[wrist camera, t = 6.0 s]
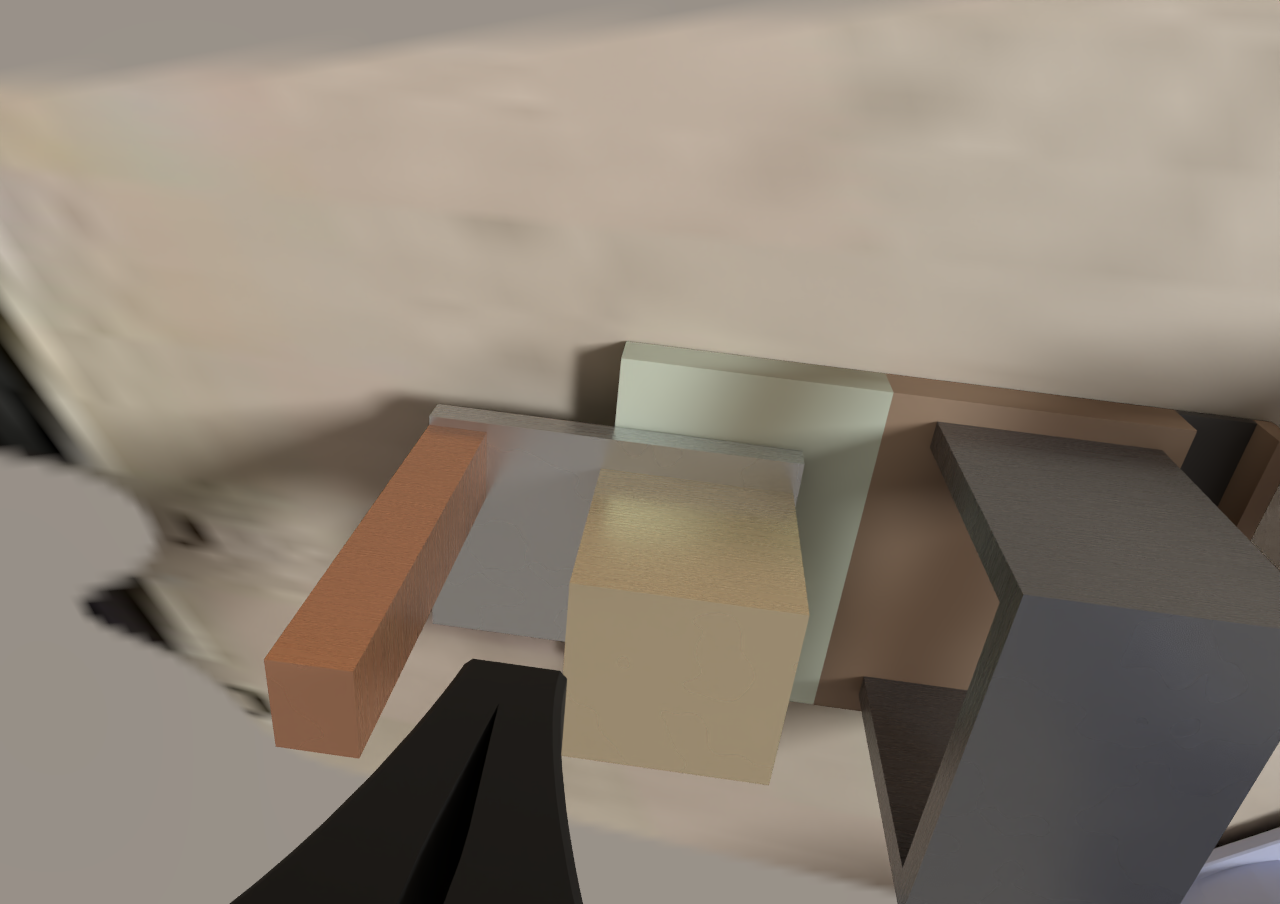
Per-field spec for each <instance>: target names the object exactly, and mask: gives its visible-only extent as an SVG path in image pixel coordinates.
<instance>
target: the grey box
mask: <svg viewBox="0 0 1280 904" xmlns="http://www.w3.org/2000/svg"><path fill="white" fill-rule="evenodd" d="M930 449H931V451H932V454H933V456H934V458H935V460H936V463H937V465H938V467H939V469H940V471H941V474H942V476H943V478H944V480H945V482H946V485H947V487H948V489H949V491H950V493H951V496H952V498H953V500H954V502H955V505H956V507H957V509H958V511H959V513H960V516H961V518H962V520H963V522H964V524H965V527H966V529H967V531H968V533H969V535H970V538H971V540H972V542H973V544H974V547H975V549H976V551H977V553H978V555H979V558H980V560H981V562H982V564H983V566H984V569H985V571H986V573H987V575H988V578H989V580H990V582H991V584H992V586H993V589H994V591H995V593H996V595H997V597H998V600H999V602H1000V603H999V606H998V608H997V611H996V614H995V617H994V619H993V622H992V625H991V628H990V630H989V633H988V636H987V639H986V641H985V644H984V647H983V650H982V652H981V655H980V658H979V660H978V663H977V666H976V669H975V671H974V674H973V677H972V680H971V682H970V685H969V688H968V690H962V689H954V688H947V687H940V686H932V685H925V684H918V683H911V682H903V681H896V680H889V679H881V678H874V677H867V676H864V677H863V681H862V684H861V688H860V691H859V694H858V695H859V701H860V706H861V711H862V717H863V722H864V727H865V733H866V738H867V743H868V749H869V754H870V759H871V765H872V770H873V775H874V780H875V786H876V791H877V796H878V802H879V807H880V812H881V818H882V823H883V828H884V834H885V839H886V844H887V850H888V855H889V860H890V866H891V871H892V876H893V881H894V887H895V892H896V897H897V902H898V904H1180V903H1181V902H1182V900H1183V899H1184V897H1185V895H1186V894H1187V892H1188V890H1189V889H1190V887H1191V885H1192V884H1193V882H1194V881H1195V879H1196V877H1197V876H1198V874H1199V872H1200V871H1201V869H1202V867H1203V866H1204V864H1205V863H1206V861H1207V859H1208V858H1209V856H1210V854H1211V853H1212V851H1213V849H1214V848H1215V846H1216V845H1217V843H1218V841H1219V840H1220V838H1221V836H1222V835H1223V833H1224V831H1225V830H1226V828H1227V827H1228V825H1229V823H1230V822H1231V820H1232V818H1233V817H1234V815H1235V813H1236V812H1237V810H1238V809H1239V807H1240V805H1241V804H1242V802H1243V800H1244V799H1245V797H1246V796H1247V794H1248V792H1249V791H1250V789H1251V787H1252V786H1253V784H1254V782H1255V781H1256V779H1257V778H1258V776H1259V774H1260V773H1261V771H1262V769H1263V768H1264V766H1265V764H1266V763H1267V761H1268V760H1269V758H1270V756H1271V755H1272V753H1273V751H1274V750H1275V748H1276V746H1277V745H1278V743H1279V742H1280V571H1279V570H1278V569H1277V568H1276V567H1275V566H1274V565H1273V564H1272V563H1271V562H1270V561H1269V560H1268V559H1267V558H1266V557H1265V556H1264V555H1263V554H1262V553H1261V552H1260V551H1259V550H1258V548H1257V547H1256V546H1255V545H1254V544H1253V543H1252V542H1251V541H1250V540H1249V539H1248V538H1247V537H1246V536H1245V535H1244V534H1243V533H1242V532H1241V531H1240V530H1239V529H1238V528H1237V527H1236V526H1235V525H1234V524H1233V523H1232V522H1231V521H1230V520H1229V519H1228V517H1227V516H1226V515H1225V514H1224V513H1223V512H1222V511H1221V510H1220V509H1219V508H1218V507H1217V506H1216V505H1215V504H1214V503H1213V502H1212V501H1211V500H1210V499H1209V498H1208V497H1207V496H1206V495H1205V494H1204V493H1203V492H1202V491H1201V490H1200V489H1199V488H1198V486H1197V485H1196V484H1195V483H1194V482H1193V481H1192V480H1191V479H1190V478H1189V477H1188V476H1187V475H1186V474H1185V473H1184V472H1183V471H1182V470H1181V469H1180V468H1179V467H1178V466H1177V465H1176V464H1175V463H1174V462H1173V461H1172V460H1171V459H1170V458H1169V457H1168V455H1167V454H1166V453H1165V452H1164V451H1163V450H1159V449H1151V448H1143V447H1136V446H1128V445H1120V444H1112V443H1104V442H1096V441H1088V440H1080V439H1072V438H1065V437H1057V436H1049V435H1041V434H1033V433H1025V432H1017V431H1009V430H1002V429H994V428H986V427H978V426H970V425H962V424H954V423H946V422H939V421H937V424H936V427H935V431H934V434H933V438H932V441H931V445H930Z"/></svg>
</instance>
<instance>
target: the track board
mask: <svg viewBox="0 0 1280 904" xmlns="http://www.w3.org/2000/svg"><path fill="white" fill-rule="evenodd" d="M937 421H939V422H946V423H954V424H962V425H970V426H978V427H986V428H994V429H1002V430H1009V431H1017V432H1025V433H1033V434H1041V435H1049V436H1057V437H1065V438H1072V439H1080V440H1088V441H1096V442H1104V443H1112V444H1120V445H1128V446H1136V447H1143V448H1151V449H1159V450H1163V451H1164V452H1165V453H1166V454H1167V455H1168V457H1169V458H1170V459H1171V460H1172V461H1173V462H1174V463H1175V464H1176V465H1177V466H1178V467H1179V468H1180V469H1181V470H1182V471H1183V472H1184V473H1185V474H1186V475H1187V476H1188V477H1189V478H1190V479H1191V480H1192V481H1193V482H1194V483H1195V484H1196V485H1197V486H1198V488H1199V489H1200V490H1201V491H1202V492H1203V493H1204V494H1205V495H1206V496H1207V497H1208V498H1209V499H1210V500H1211V501H1212V502H1213V503H1214V504H1215V505H1216V506H1217V507H1218V508H1219V509H1220V510H1221V511H1222V512H1223V513H1224V514H1225V515H1226V516H1227V517H1228V519H1229V520H1230V521H1231V522H1232V523H1233V524H1234V525H1235V526H1236V527H1237V528H1238V529H1239V530H1240V531H1241V532H1242V533H1243V534H1244V535H1245V536H1246V537H1247V538H1248V539H1249V540H1251V538H1252V536H1253V534H1254V533H1255V531H1256V529H1257V527H1258V525H1259V523H1260V521H1261V519H1262V517H1263V515H1264V513H1265V511H1266V509H1267V507H1268V505H1269V503H1270V501H1271V499H1272V497H1273V496H1274V494H1275V492H1276V490H1277V488H1278V486H1279V484H1280V428H1279V427H1278V426H1276V425H1275V424H1274V423H1272V422H1267V421H1259V420H1252V419H1244V418H1236V417H1228V416H1220V415H1212V414H1204V413H1196V412H1188V411H1180V410H1172V409H1164V408H1156V407H1148V406H1140V405H1132V404H1124V403H1116V402H1108V401H1100V400H1092V399H1084V398H1076V397H1068V396H1060V395H1052V394H1044V393H1036V392H1028V391H1020V390H1012V389H1004V388H996V387H988V386H980V385H972V384H964V383H956V382H948V381H940V380H932V379H924V378H916V377H908V376H900V375H892V374H884V373H876V372H868V371H860V370H853V369H845V368H837V367H829V366H821V365H813V364H805V363H797V362H789V361H781V360H773V359H765V358H757V357H749V356H741V355H733V354H725V353H717V352H709V351H701V350H693V349H685V348H677V347H669V346H661V345H653V344H645V343H637V342H629V341H626V344H625V348H624V351H623V354H622V358H621V367H620V378H619V388H618V399H617V409H616V420H615V427H621V428H629V429H637V430H644V431H652V432H660V433H668V434H676V435H683V436H691V437H699V438H707V439H714V440H722V441H730V442H738V443H745V444H753V445H761V446H769V447H777V448H784V449H792V450H800V451H802V452H803V458H804V464H805V465H804V470H803V474H802V479H801V484H800V488H799V493H798V498H797V502H796V507H795V509H796V517H797V524H798V532H799V539H800V547H801V554H802V562H803V569H804V577H805V584H806V592H807V600H808V607H809V615H810V616H809V620H808V624H807V628H806V633H805V637H804V641H803V645H802V649H801V653H800V658H799V662H798V666H797V670H796V674H795V679H794V683H793V687H792V691H791V695H790V699H789V701H792V702H799V703H806V704H813V705H820V706H828V707H835V708H842V709H849V710H856V711H861V706H860V701H859V695H858V694H859V691H860V688H861V684H862V681H863V677H864V676H867V677H874V678H881V679H889V680H896V681H903V682H911V683H918V684H925V685H932V686H940V687H947V688H954V689H962V690H968V688H969V685H970V682H971V680H972V677H973V674H974V671H975V669H976V666H977V663H978V660H979V658H980V655H981V652H982V650H983V647H984V644H985V641H986V639H987V636H988V633H989V630H990V628H991V625H992V622H993V619H994V617H995V614H996V611H997V608H998V606H999V603H1000V602H999V600H998V597H997V595H996V593H995V591H994V589H993V586H992V584H991V582H990V580H989V578H988V575H987V573H986V571H985V569H984V566H983V564H982V562H981V560H980V558H979V555H978V553H977V551H976V549H975V547H974V544H973V542H972V540H971V538H970V535H969V533H968V531H967V529H966V527H965V524H964V522H963V520H962V518H961V516H960V513H959V511H958V509H957V507H956V505H955V502H954V500H953V498H952V496H951V493H950V491H949V489H948V487H947V485H946V482H945V480H944V478H943V476H942V474H941V471H940V469H939V467H938V465H937V463H936V460H935V458H934V456H933V454H932V451H931V449H930V445H931V441H932V438H933V434H934V431H935V427H936V424H937Z"/></svg>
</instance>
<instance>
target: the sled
mask: <svg viewBox="0 0 1280 904" xmlns="http://www.w3.org/2000/svg"><path fill="white" fill-rule="evenodd" d="M804 465H805V464H804V458H803V452H802V451H800V450H792V449H784V448H777V447H769V446H761V445H753V444H745V443H738V442H730V441H722V440H714V439H707V438H699V437H691V436H683V435H676V434H668V433H660V432H652V431H644V430H637V429H629V428H621V427H613V426H606V425H598V424H590V423H582V422H575V421H567V420H559V419H551V418H543V417H536V416H528V415H520V414H512V413H505V412H497V411H489V410H481V409H474V408H466V407H458V406H450V405H442V404H437V406H436V407H435V409H434V410H433V411H432V413H431V414H430V416H429V426H428V427H427V429H426V430H425V432H424V433H423V434H422V436H421V437H420V439H419V440H418V442H417V443H416V444H415V446H414V447H413V449H412V450H411V452H410V453H409V454H408V456H407V457H406V459H405V460H404V461H403V463H402V464H401V466H400V467H399V469H398V470H397V471H396V473H395V474H394V476H393V477H392V478H391V480H390V481H389V483H388V484H387V486H386V487H385V488H384V490H383V491H382V493H381V494H380V495H379V497H378V498H377V500H376V501H375V503H374V504H373V505H372V507H371V508H370V510H369V511H368V513H367V514H366V515H365V517H364V518H363V520H362V521H361V522H360V524H359V525H358V527H357V528H356V530H355V531H354V532H353V534H352V535H351V537H350V538H349V539H348V541H347V542H346V544H345V545H344V547H343V548H342V549H341V551H340V552H339V554H338V555H337V557H336V558H335V559H334V561H333V562H332V564H331V565H330V566H329V568H328V569H327V571H326V572H325V574H324V575H323V576H322V578H321V579H320V581H319V582H318V583H317V585H316V586H315V588H314V589H313V591H312V592H311V593H310V595H309V596H308V598H307V599H306V600H305V602H304V603H303V605H302V606H301V608H300V609H299V610H298V612H297V613H296V615H295V616H294V618H293V619H292V620H291V622H290V623H289V625H288V626H287V627H286V629H285V630H284V632H283V633H282V635H281V636H280V637H279V639H278V640H277V642H276V643H275V644H274V646H273V647H272V649H271V650H270V652H269V653H268V654H267V656H266V657H265V659H264V663H265V671H266V678H267V685H268V693H269V700H270V707H271V715H272V722H273V729H274V737H275V744H276V747H283V748H290V749H297V750H304V751H311V752H318V753H325V754H332V755H339V756H346V757H353V758H360V756H361V754H362V752H363V750H364V748H365V746H366V744H367V742H368V739H369V737H370V735H371V733H372V731H373V729H374V727H375V725H376V723H377V721H378V719H379V717H380V715H381V713H382V711H383V709H384V707H385V705H386V702H387V700H388V698H389V696H390V694H391V692H392V690H393V688H394V686H395V684H396V682H397V680H398V678H399V676H400V674H401V672H402V670H403V668H404V666H405V663H406V661H407V659H408V657H409V655H410V653H411V651H412V649H413V647H414V645H415V643H416V641H417V639H418V637H419V635H420V633H421V631H422V629H423V626H424V624H425V622H426V620H427V618H428V616H429V614H430V612H431V610H432V608H433V624H440V625H447V626H454V627H462V628H469V629H476V630H484V631H491V632H498V633H505V634H513V635H520V636H527V637H535V638H542V639H549V640H556V641H564V642H565V651H564V664H563V675H564V676H565V677H566V678H567V689H566V702H565V715H564V728H563V740H562V753H561V756H566V757H573V758H580V759H587V760H594V761H601V762H608V763H615V764H622V765H630V766H637V767H644V768H651V769H658V770H665V771H672V772H679V773H686V774H693V775H700V776H707V777H714V778H721V779H728V780H735V781H742V782H749V783H756V784H763V785H769V783H770V779H771V775H772V770H773V766H774V762H775V758H776V754H777V750H778V745H779V741H780V737H781V733H782V729H783V724H784V720H785V716H786V712H787V708H788V704H789V699H790V695H791V691H792V687H793V683H794V679H795V674H796V670H797V666H798V662H799V658H800V653H801V649H802V645H803V641H804V637H805V633H806V628H807V624H808V620H809V616H810V615H809V607H808V600H807V592H806V584H805V577H804V569H803V562H802V554H801V547H800V539H799V532H798V524H797V517H796V509H795V507H796V502H797V498H798V493H799V488H800V484H801V479H802V474H803V470H804Z"/></svg>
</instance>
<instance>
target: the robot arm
mask: <svg viewBox="0 0 1280 904" xmlns="http://www.w3.org/2000/svg"><path fill="white" fill-rule="evenodd" d="M566 689H567V678H566V677H565V676H564V675H563V674H562V673H561V672H560V671H556V670H549V669H542V668H535V667H528V666H521V665H513V664H506V663H499V662H492V661H485V660H478V659H472V660H470V661H469V662H467V663H466V664H464V666H463V667H462V668H461V670H460V671H459V673H458V674H457V675H456V677H455V678H454V679H453V681H452V682H451V683H450V685H449V686H448V687H447V689H446V690H445V691H444V692H443V694H442V695H441V696H440V697H439V699H438V700H437V701H436V702H435V704H434V705H433V706H432V707H431V709H430V710H429V711H428V712H427V713H426V714H425V716H424V717H423V718H422V719H421V720H420V722H419V723H418V724H417V725H416V726H415V728H414V729H413V730H412V731H411V732H410V733H409V734H408V735H407V737H406V738H405V739H404V740H403V741H402V742H401V743H400V744H399V745H398V747H397V748H396V749H395V750H394V751H393V752H392V753H391V754H390V755H389V757H388V758H387V759H386V760H385V761H384V762H383V763H382V764H381V765H380V767H379V768H378V769H377V770H376V771H375V772H374V773H373V774H372V775H371V776H370V777H369V778H368V779H367V780H366V781H365V782H364V784H362V785H361V786H360V787H359V788H358V789H357V790H356V791H355V792H354V793H353V794H352V795H351V796H350V797H349V798H348V799H347V800H346V801H345V802H344V803H343V804H342V805H341V806H340V807H339V808H338V809H337V810H336V811H335V812H334V813H333V814H332V815H331V816H330V817H329V818H328V819H327V820H326V821H325V822H324V823H323V824H322V825H321V826H320V827H319V828H318V829H316V830H315V831H314V832H313V833H312V834H311V835H310V836H309V837H308V838H307V839H306V840H305V841H303V843H301V844H300V845H299V846H298V847H297V848H296V849H295V850H293V852H291V853H290V854H289V855H288V856H287V857H286V858H284V859H283V860H282V861H281V862H280V863H278V864H277V865H276V866H275V867H274V868H273V869H271V870H270V871H269V872H268V873H267V874H266V875H264V876H263V877H262V878H261V879H260V880H259V881H257V882H256V883H255V884H254V885H252V886H251V887H250V888H249V889H247V890H246V891H245V892H244V893H243V894H241V895H240V896H239V897H237V898H236V899H235V900H234V901H232V902H231V903H230V904H583V902H582V897H581V893H580V888H579V883H578V878H577V873H576V868H575V862H574V857H573V851H572V845H571V840H570V833H569V826H568V819H567V812H566V803H565V793H564V783H563V773H562V759H561V753H562V740H563V728H564V715H565V702H566ZM1180 904H1280V827H1278V828H1275V829H1272V830H1269V831H1266V832H1263V833H1260V834H1257V835H1254V836H1251V837H1248V838H1245V839H1242V840H1239V841H1236V842H1233V843H1230V844H1227V845H1224V846H1221V847H1217V848H1214V849H1213V851H1212V853H1211V854H1210V856H1209V858H1208V859H1207V861H1206V863H1205V864H1204V866H1203V867H1202V869H1201V871H1200V872H1199V874H1198V876H1197V877H1196V879H1195V881H1194V882H1193V884H1192V885H1191V887H1190V889H1189V890H1188V892H1187V894H1186V895H1185V897H1184V899H1183V900H1182V902H1181V903H1180Z"/></svg>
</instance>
